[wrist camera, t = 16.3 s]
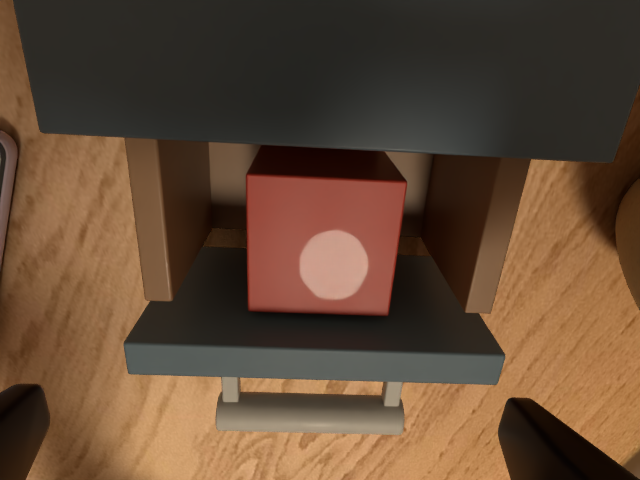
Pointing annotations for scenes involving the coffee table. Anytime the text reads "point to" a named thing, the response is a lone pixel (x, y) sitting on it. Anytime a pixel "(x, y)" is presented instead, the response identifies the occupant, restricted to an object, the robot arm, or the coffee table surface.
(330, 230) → the block
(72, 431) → the coffee table surface
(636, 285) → the bowl
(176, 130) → the cabinet
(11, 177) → the smartphone
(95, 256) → the coffee table surface
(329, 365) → the drawer
